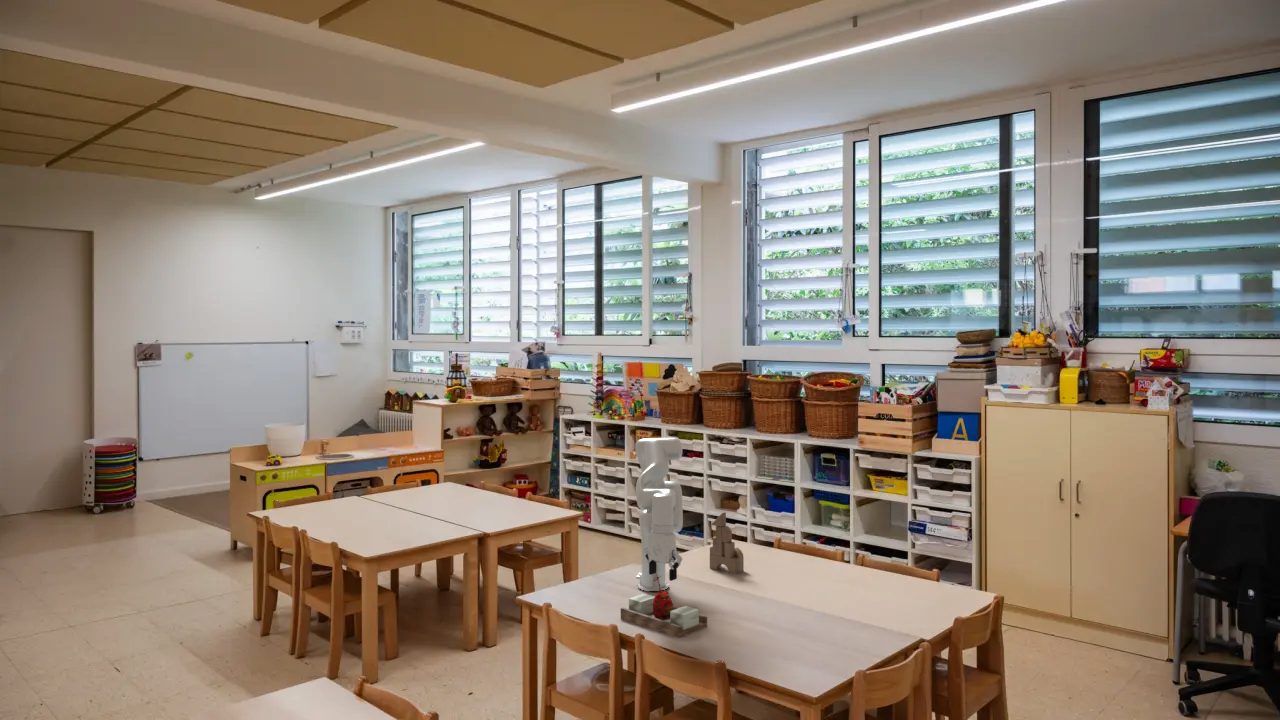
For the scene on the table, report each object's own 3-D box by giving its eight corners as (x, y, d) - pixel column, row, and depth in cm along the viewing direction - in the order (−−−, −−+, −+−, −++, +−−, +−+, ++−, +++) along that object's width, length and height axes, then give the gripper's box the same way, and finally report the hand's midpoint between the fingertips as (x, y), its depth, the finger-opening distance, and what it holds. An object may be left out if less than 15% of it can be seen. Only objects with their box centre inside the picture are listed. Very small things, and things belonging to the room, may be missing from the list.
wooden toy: (744, 571, 348) (744, 513, 347) (735, 574, 343) (735, 515, 342) (715, 564, 358) (715, 508, 357) (706, 567, 353) (706, 510, 352)
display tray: (620, 618, 289) (620, 599, 289) (648, 608, 300) (648, 590, 300) (679, 637, 270) (679, 618, 270) (707, 626, 280) (706, 607, 280)
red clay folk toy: (663, 622, 280) (663, 579, 279) (648, 617, 284) (647, 575, 284) (677, 616, 286) (677, 574, 285) (662, 612, 290) (661, 570, 290)
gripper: (637, 526, 287) (637, 573, 288) (673, 535, 275) (674, 584, 276) (652, 522, 293) (652, 569, 294) (688, 530, 281) (688, 579, 282)
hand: (662, 576), depth 285 cm, fingers open, 9 cm apart
